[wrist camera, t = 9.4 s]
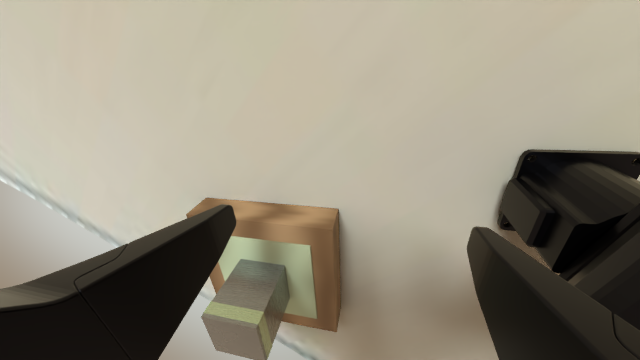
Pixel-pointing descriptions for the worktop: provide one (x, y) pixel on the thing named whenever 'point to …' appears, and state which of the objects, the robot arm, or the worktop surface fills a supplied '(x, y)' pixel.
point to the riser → (288, 254)
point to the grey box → (248, 309)
